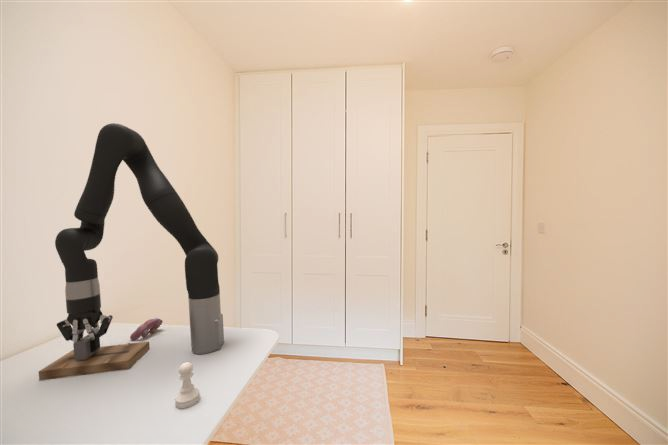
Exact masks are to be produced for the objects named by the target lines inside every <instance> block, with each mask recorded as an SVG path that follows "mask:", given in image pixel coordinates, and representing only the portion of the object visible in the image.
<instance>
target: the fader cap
mask: <svg viewBox="0 0 668 445" xmlns="http://www.w3.org/2000/svg"><path fill="white" fill-rule="evenodd" d="M100 338H101V337H99V342H100V343H101V339H100ZM90 340H91V339H90V337H89V334H88V333H87V334H86V335H85V336H83V338H81V339H80V340H78V341H77V342H75V343H74V342H73V350H74V360H84V359H87V358H89V357H90V356H92V355H93V354H94V353H96V352H97V351H99V350H100V347H101V346H100V347H99V348H98V350H96V351H95V352H91V348H90Z"/></svg>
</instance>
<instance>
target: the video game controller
mask: <svg viewBox="0 0 668 445" xmlns="http://www.w3.org/2000/svg"><path fill="white" fill-rule="evenodd" d="M162 324H163V320H162V319H161V318H158V317H155V318H150V319H148V320H146V321H145V322H144V323H142V324H140V325H139V326H138V327H137V329H136V330H135V331H133V332H132V333H131V334H130V336H129V338H130V340H131V341H136V340H138V339H139V338H141V337H142V338H143V339H144V338H146V337H148V336H149V334H151V335H152V334H154V333H156V331H157V330H158V329H159V328H160V327H161V326H162ZM160 325H161V326H160Z"/></svg>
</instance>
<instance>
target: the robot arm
mask: <svg viewBox="0 0 668 445" xmlns="http://www.w3.org/2000/svg"><path fill="white" fill-rule="evenodd" d="M97 134H98V135H97V138H96V141H95V142H96V143H95V147H94V153H93V156H92V161H91V166H90V170H89V173H88V177H87V180H86V184H85V186H84V188H83V192H82V193H81V196H80V198H79V199H78V203H77V204H76V207H75V210H74V213H73V214H74V217H75V218H76V219H77V220H78V221H80V225H79V226H80V227H70V228H69V227H68V228H64V229H62V230H60V231H59V232H58V233H57V235H56V237H55V241H54V244H55V245H54V246H55V249H56V252H57V254H58V257H59V259H60V261H61V263H62V265H63V267H64V273H65V274H64V276H65V287H64V288H65V290H64V291H65V294H64V295H65V306H66V313H67V314H68V316H67V317H66V319H63V320H61V321H59V322H57V323H56V327H57V328H58V331H59V332H60V333H61V335H62V337H63V338H64V339H65V341H67V342H69V341H72V342H73V343H75V342H77V341H78V340H80V339H81V338H83V337H84V333H85V331H86V333H87V335H88V334H89V337H90V339H91V340H90V348H91V352H95V351H96V350H98V348H99V347H101V341H100V342H99V337H100V338H101V337H103V336H104V335H106V334H107V332H108V329H109V327H110V325H111V323H112V321H113V315H111V314H110V315H105V314H103V312H102V310H101V307H102V299H101V298H102V297H101V288H100V286H101V284H100V282H99V274H98V273H99V272H98V263H97V261H96V260H95V259H93V258H88V257H87V254H86V252H87V251H91V250H94V249H96V248H97V247H98V246H99V245H100V244H101V242H102V241H103V238H104V232H105V231H104V230H105V221H106V220H105V219H106V217H107V215H108V212H109V210H110V208H111V206H112V203H113V200H114V196H115V186H116V185H115V182H116V176H117V171H118V169H119V167H120V165H121V163H122V162H123V163H124V164H126V166H127V167H128V168H129V170H130V171H131V172H132V173H133V176H135V178H136V179H135V180H136V181H137V184H138V188H139V192H140V195H141V198H142V200H143V202H144V204H145V206H146V207H147V209H148V210H149V211H150V213H151V215H152V216H153V217H154V218H155V220H156V221H157V223H159V225H160V226H162V228H163V229H165V230H166V231H167V232H168V233H169V234H170V235H171V236H172V237H173V238H174V239H175V240H176V242H177V243H178V245H180V247H181V249H182V251H183V253H184V255H185V260H184V274H185V286H186V291H187V294H188V295H187V296H188V310H189V312H188V313H189V328H190V330H189V332H190V346H191V352H192V353H193V354H196V355H205V354H209V353H213V352H215V351H220V350H221V349H222V347H223V345H224V343H225V334H224V333H225V332H224V331H225V330H224V317H223V313H222V312H221V296H220V292H221V291H220V283H219V269H218V268H219V267H218V263H219V254H218V252H217V250H216V249H215V248H214V247H213V245H211V244H210V242H209V241H208V240H207V239H206V237H205V236H204V235H203V234H202V231H200V230H199V228H198V226H197V224H196V223H195V221H194V220H195V219H193V217H192V215H191V214H190V211H189V210H188V208H187V206H186V204H185V203H184V201H183V200H182V198H181V197H180V195H179V194H178V192H177V191H176V189H175V188H174V186H173V185H172V184H171V182H170V181H169V179H168V177H167V176H165V174H164V173H163V171H162V170H161V168H160V167H159V166H158V163H157V162H156V160H155V158H154V156H153V154H152V153H151V150H150V149H149V147H148V145H147V143H146V141H145V139H144V138H143V136H142V135H141V134H140V133H138V132H137V131H135V130H133V129H131V128H129V127H127V126H126V125H124V124H119V123H107V124H105V125H104V126H103V127H101V128H100V130H99V132H98V133H97ZM85 251H86V252H85ZM99 323H100V325H99Z"/></svg>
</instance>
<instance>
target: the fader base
mask: <svg viewBox="0 0 668 445" xmlns="http://www.w3.org/2000/svg"><path fill="white" fill-rule="evenodd" d="M150 346H151V345H150V341H142V342H132V343H125V344H124V343H123V344H115V345H113V344H112V345H106V346H100V350H99V351H97V352H96V353H94V354H93V355H92V356H90V357H89V358H87V359H84V360H74V349H72V350H70V351H69V352H67V353H65V354H64V355H62V356H61V357H59V358H57V359H56V360H55V361H53V362H51V363H50V364H48V365H46V366H44V367H43V368H42V369H40V370H38V380H39V381H45V380H44V379H46V380H52V379H53V380H55V379H63V378H70V377H77V376H84V375H93V374H99V373H109V371H110V372H116V371H117V370H118V371H125V370H130V369H131V368H132V367H133V366H134V365H135V364H136V363H137V362H138V361H139V360H140V359H141V358H142V357H143V356H145V354H147V352H148V351H149V350H150V348H151V347H150Z"/></svg>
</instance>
